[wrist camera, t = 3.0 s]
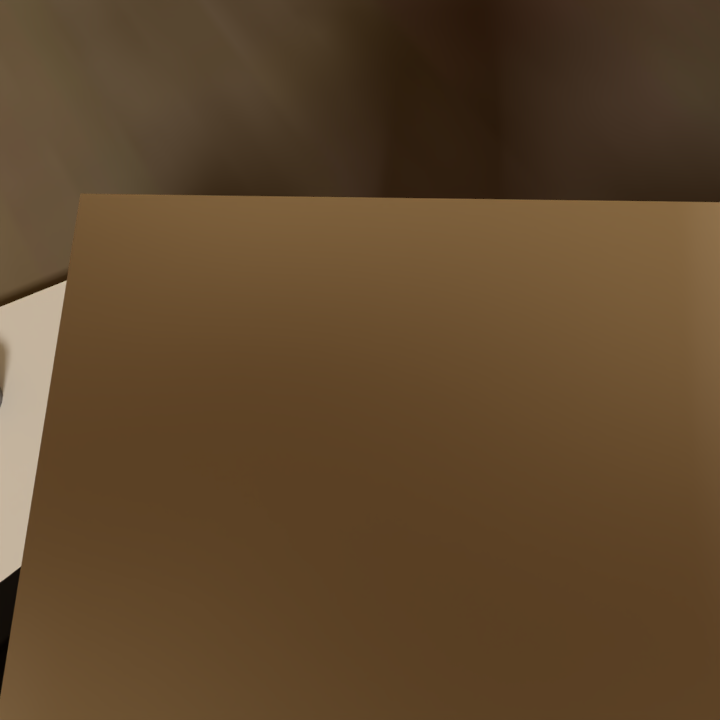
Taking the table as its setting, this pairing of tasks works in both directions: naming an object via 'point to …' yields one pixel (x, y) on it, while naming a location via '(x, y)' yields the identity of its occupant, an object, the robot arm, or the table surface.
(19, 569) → the robot arm
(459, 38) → the table surface
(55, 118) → the table surface
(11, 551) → the stub base plate
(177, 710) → the maple block
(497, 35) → the table surface
